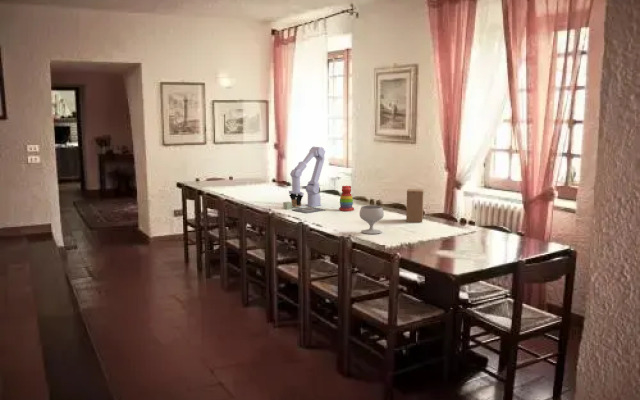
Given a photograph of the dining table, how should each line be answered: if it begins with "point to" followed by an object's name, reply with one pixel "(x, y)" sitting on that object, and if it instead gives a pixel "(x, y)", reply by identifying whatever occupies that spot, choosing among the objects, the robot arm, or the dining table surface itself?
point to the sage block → (287, 205)
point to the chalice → (371, 217)
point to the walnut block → (295, 203)
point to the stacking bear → (346, 199)
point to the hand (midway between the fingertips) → (296, 204)
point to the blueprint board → (308, 210)
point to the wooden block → (414, 205)
